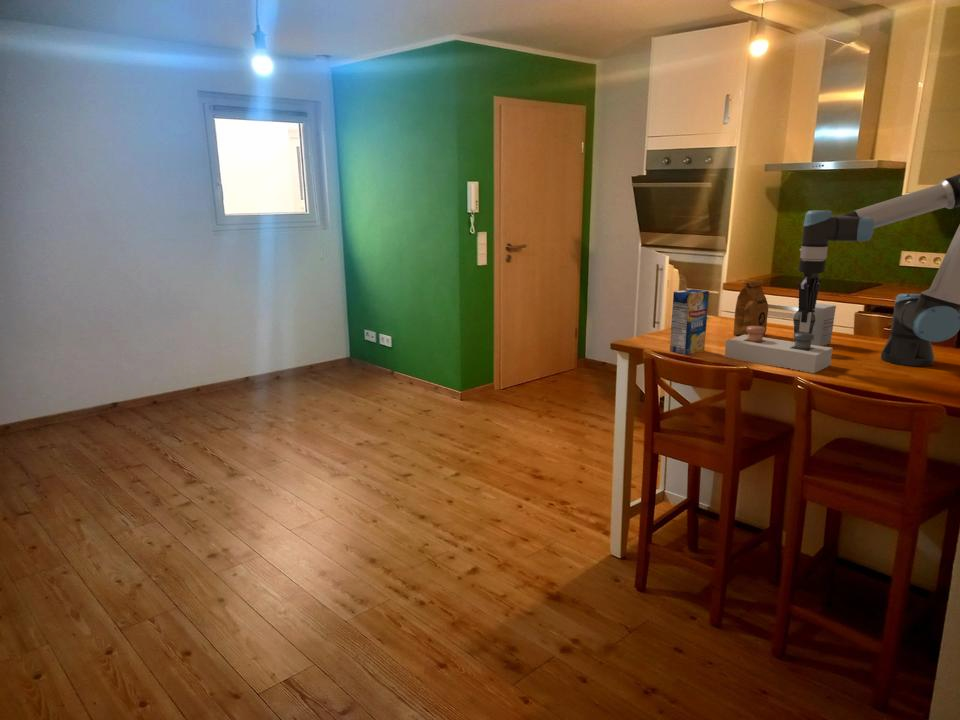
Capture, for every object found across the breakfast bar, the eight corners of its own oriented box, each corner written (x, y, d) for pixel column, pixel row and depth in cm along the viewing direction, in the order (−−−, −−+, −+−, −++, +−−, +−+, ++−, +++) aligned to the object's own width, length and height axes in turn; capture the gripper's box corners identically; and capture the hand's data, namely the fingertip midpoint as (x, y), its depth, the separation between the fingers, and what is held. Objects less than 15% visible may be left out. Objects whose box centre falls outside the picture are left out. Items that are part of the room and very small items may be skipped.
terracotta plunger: (766, 343, 226) (768, 327, 225) (759, 346, 222) (760, 330, 221) (749, 340, 230) (751, 325, 229) (742, 343, 226) (743, 327, 225)
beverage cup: (814, 353, 232) (821, 298, 227) (792, 352, 233) (798, 297, 228) (808, 348, 239) (815, 295, 234) (787, 348, 240) (793, 294, 235)
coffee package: (770, 335, 261) (775, 281, 256) (750, 339, 255) (755, 283, 249) (748, 331, 269) (753, 278, 264) (729, 334, 263) (733, 280, 258)
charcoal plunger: (814, 350, 215) (816, 334, 213) (807, 354, 211) (809, 337, 210) (796, 347, 219) (798, 331, 218) (788, 350, 215) (790, 334, 214)
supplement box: (796, 343, 247) (800, 304, 244) (807, 340, 253) (812, 302, 249) (820, 347, 240) (825, 307, 237) (831, 344, 246) (836, 305, 242)
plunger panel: (830, 365, 216) (832, 347, 214) (814, 373, 207) (816, 355, 205) (742, 350, 237) (744, 334, 236) (724, 357, 228) (726, 340, 226)
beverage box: (669, 351, 237) (673, 291, 231) (689, 347, 243) (693, 288, 237) (684, 355, 231) (689, 294, 226) (704, 350, 237) (709, 291, 232)
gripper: (808, 257, 214) (800, 327, 220) (792, 260, 206) (784, 333, 212) (832, 259, 209) (823, 330, 215) (817, 262, 201) (808, 336, 206)
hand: (804, 331), depth 213 cm, fingers closed
